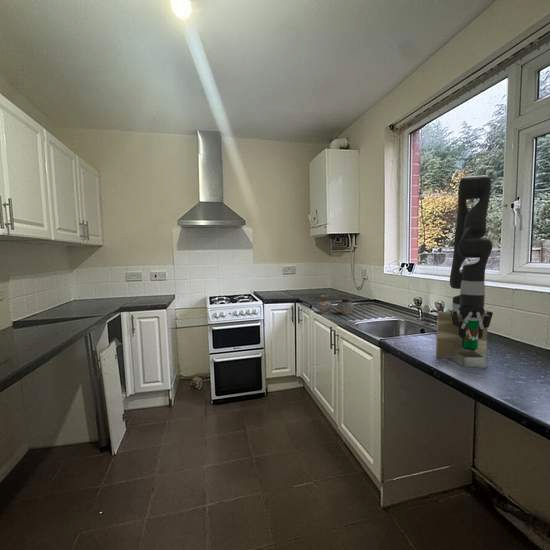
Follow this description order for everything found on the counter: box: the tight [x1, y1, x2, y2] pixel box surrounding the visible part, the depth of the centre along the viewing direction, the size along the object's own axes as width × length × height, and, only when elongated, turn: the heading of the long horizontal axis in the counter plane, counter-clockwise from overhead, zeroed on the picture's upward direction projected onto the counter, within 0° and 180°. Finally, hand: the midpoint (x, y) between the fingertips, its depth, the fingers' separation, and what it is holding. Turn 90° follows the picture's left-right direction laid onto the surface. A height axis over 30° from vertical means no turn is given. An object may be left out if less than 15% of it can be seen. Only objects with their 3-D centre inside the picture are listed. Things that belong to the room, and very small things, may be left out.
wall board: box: [435, 311, 489, 359], centre depth 119 cm, size 2×18×18 cm, turn 84°
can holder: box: [449, 349, 488, 369], centre depth 114 cm, size 10×8×4 cm
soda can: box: [462, 317, 479, 350], centre depth 113 cm, size 5×5×12 cm
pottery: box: [316, 294, 356, 316], centre depth 205 cm, size 11×25×12 cm, turn 78°
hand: (470, 338), depth 113 cm, fingers closed on soda can, 5 cm apart
